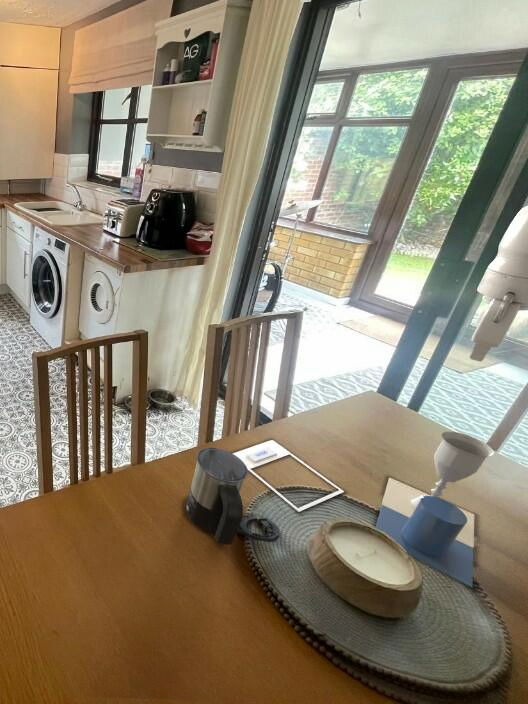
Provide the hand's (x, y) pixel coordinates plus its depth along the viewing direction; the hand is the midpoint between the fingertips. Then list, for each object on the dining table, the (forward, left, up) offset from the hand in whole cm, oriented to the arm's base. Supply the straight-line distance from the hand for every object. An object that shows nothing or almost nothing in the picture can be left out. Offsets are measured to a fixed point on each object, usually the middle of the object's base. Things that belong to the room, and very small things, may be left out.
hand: (479, 352), depth 83 cm
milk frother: (+49, +14, -34) cm, 62 cm away
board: (+9, +14, -34) cm, 38 cm away
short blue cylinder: (+13, +18, -33) cm, 40 cm away
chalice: (+6, +10, -33) cm, 35 cm away
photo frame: (+30, +1, -34) cm, 45 cm away
